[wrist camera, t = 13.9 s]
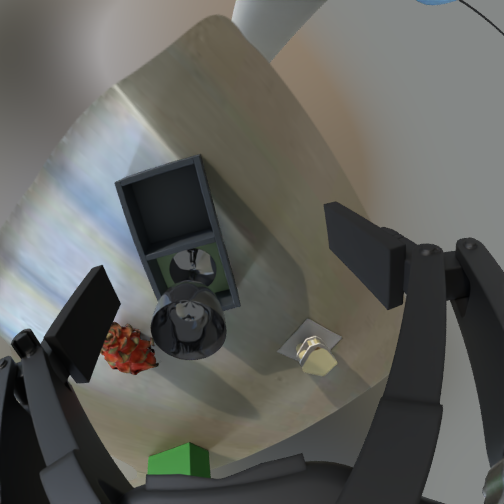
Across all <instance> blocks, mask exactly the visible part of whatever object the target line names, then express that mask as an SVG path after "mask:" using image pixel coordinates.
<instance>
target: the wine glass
mask: <svg viewBox="0 0 504 504" xmlns="http://www.w3.org/2000/svg"><path fill="white" fill-rule="evenodd" d="M169 272H170V276H171V278H172V280H173V281H174V283H175V284H173V285H172V286H171V287H169V288H168V289H167V290H166V291H165V292H164V293H163V295H162V296H161V298H160V299H159V301H158V303H157V305H156V308H155V310H154V313H153V317H152V321H151V334H152V337H153V339H154V341H155V343H156V344H157V345H158V347H159V348H160V349H161V350H163V351H164V352H165V353H167V354H169V355H171V356H173V357H176V358H179V359H184V360H198V359H203V358H206V357H209V356H210V355H212V354H214V353H215V352H217V351H218V350H219V349H220V348H221V347H222V345H223V343H224V341H225V338H226V332H227V330H226V321H225V315H224V311H223V308H222V306H221V303H220V301H219V299H218V298H217V296H216V294H215V293H214V292H213V291H212V290H211V289H210V288H209V287H208V286H209V285H210V284H211V283H212V282H213V281H214V279H215V277H216V272H217V268H216V263H215V261H214V259H213V258H212V256H211V255H210V254H208V253H207V252H206V251H204V250H201V249H198V248H192V249H188V250H185V251H181V252H178V253H176V255H175V256H174V257H173V258H172V260H171V262H170V266H169Z"/></svg>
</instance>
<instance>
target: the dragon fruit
mask: <svg viewBox="0 0 504 504" xmlns="http://www.w3.org/2000/svg"><path fill="white" fill-rule="evenodd" d="M127 326H128V327H127ZM133 331H136V332H134V333H132V332H133ZM140 334H141V332H140V330H139V329H134V328H132V326H131V325H130V324H126V327H121V326H120V325H119V324H118V323H116V322H113V323H112V326H111V328H110V330H109V332H108V335H107V337H106V340H105V342H104V344H103V347H102V349H101V352H100V353H101V354H102V355H104V356H105V360H106V361H107V362H108V364H109V365H110V366H111V368H112V369H118V370H119V371H121V372H123V373H131V374H133V375H137V373H139V372H141V371H143V370H148V369H150V368H154V367H157V366H158V365H159V363H156V358H155V356H154V355H155V351H154V349H151V344H152V346H154V340H153V338H150V341H147V340H141V339H140V338H139V336H140ZM147 348H149V349H147ZM151 351H152V352H153V353H152V352H151ZM160 361H161V360H160Z"/></svg>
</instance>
